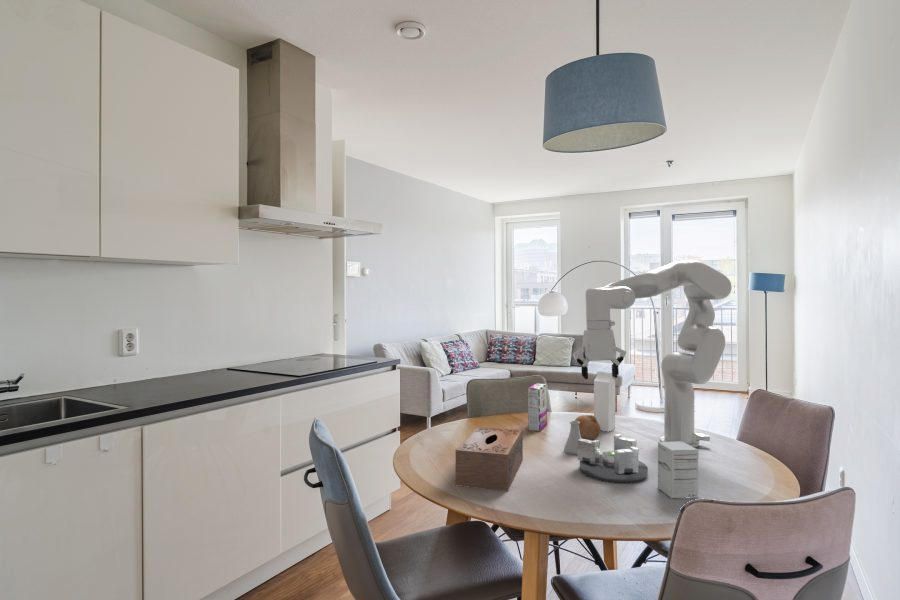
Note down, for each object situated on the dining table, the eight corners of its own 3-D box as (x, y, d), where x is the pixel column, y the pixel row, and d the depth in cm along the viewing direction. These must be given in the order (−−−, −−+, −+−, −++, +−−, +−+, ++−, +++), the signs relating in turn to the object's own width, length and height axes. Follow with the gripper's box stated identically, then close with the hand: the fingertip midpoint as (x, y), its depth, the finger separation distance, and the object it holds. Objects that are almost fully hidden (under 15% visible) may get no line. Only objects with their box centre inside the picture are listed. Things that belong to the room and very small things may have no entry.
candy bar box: (535, 423, 204) (535, 383, 204) (547, 425, 202) (547, 383, 202) (527, 430, 194) (527, 387, 194) (540, 431, 192) (539, 388, 192)
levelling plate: (645, 464, 155) (645, 446, 155) (650, 486, 137) (650, 466, 137) (581, 458, 161) (581, 441, 161) (577, 479, 143) (577, 459, 143)
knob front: (583, 457, 154) (583, 436, 154) (600, 462, 150) (600, 440, 150) (576, 460, 152) (576, 438, 152) (594, 465, 147) (594, 442, 147)
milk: (608, 432, 191) (608, 374, 191) (593, 429, 195) (593, 372, 195) (615, 429, 196) (615, 372, 195) (600, 426, 200) (600, 370, 199)
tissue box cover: (477, 457, 163) (477, 426, 163) (522, 461, 159) (522, 429, 159) (455, 486, 138) (455, 450, 138) (507, 492, 134) (507, 454, 134)
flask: (586, 455, 163) (586, 425, 163) (563, 454, 165) (563, 424, 165) (585, 449, 171) (585, 419, 170) (563, 448, 172) (563, 418, 172)
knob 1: (631, 462, 150) (631, 440, 150) (612, 457, 155) (612, 435, 155) (637, 459, 153) (637, 437, 152) (618, 454, 157) (618, 433, 157)
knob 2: (613, 470, 143) (613, 447, 143) (632, 468, 144) (632, 445, 144) (620, 474, 140) (620, 451, 140) (639, 473, 141) (639, 449, 141)
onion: (597, 448, 181) (610, 425, 179) (580, 446, 175) (593, 421, 174) (580, 433, 188) (592, 410, 187) (563, 430, 183) (575, 406, 182)
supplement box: (656, 488, 136) (656, 441, 136) (683, 487, 137) (683, 440, 136) (671, 499, 129) (671, 449, 128) (699, 498, 129) (699, 449, 129)
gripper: (620, 323, 170) (622, 374, 170) (569, 325, 169) (570, 377, 169) (629, 325, 162) (630, 378, 162) (575, 327, 162) (577, 381, 162)
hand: (600, 377), depth 166 cm, fingers open, 9 cm apart
